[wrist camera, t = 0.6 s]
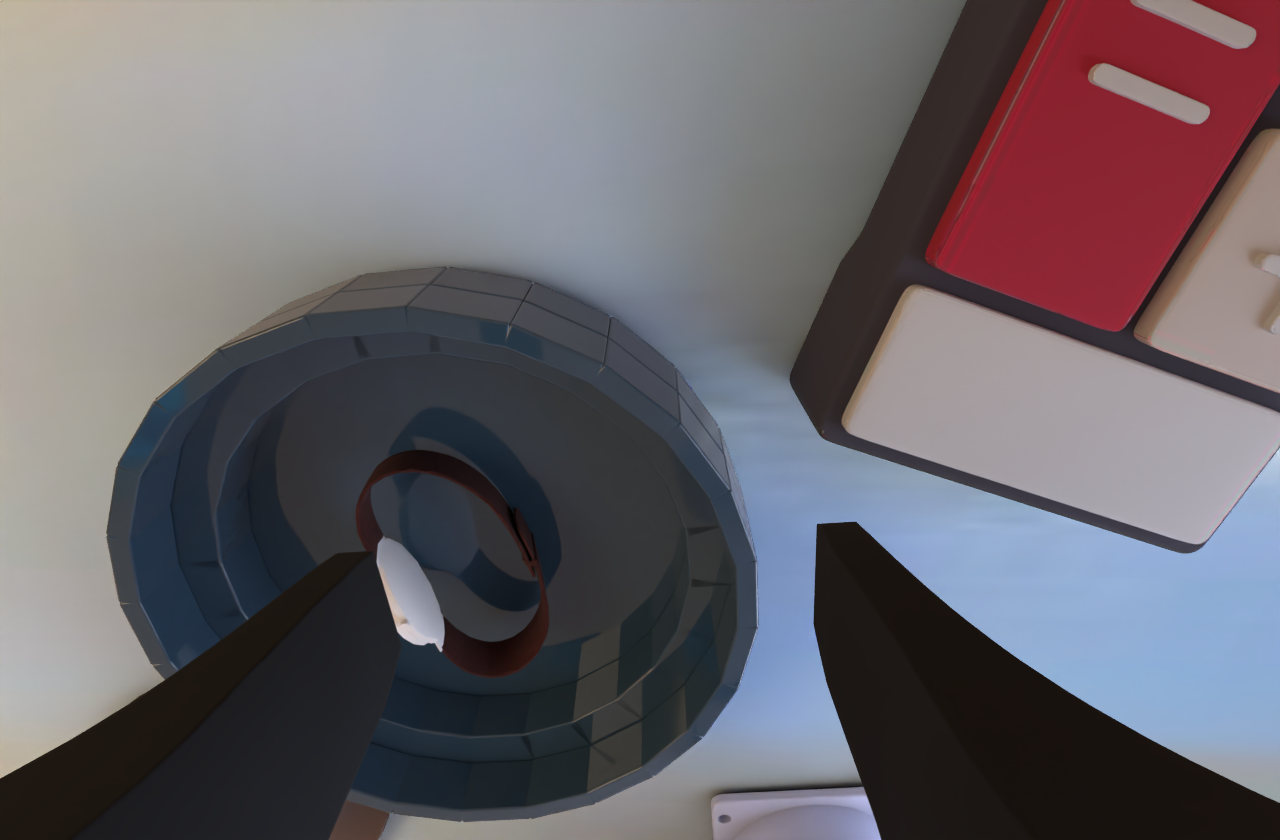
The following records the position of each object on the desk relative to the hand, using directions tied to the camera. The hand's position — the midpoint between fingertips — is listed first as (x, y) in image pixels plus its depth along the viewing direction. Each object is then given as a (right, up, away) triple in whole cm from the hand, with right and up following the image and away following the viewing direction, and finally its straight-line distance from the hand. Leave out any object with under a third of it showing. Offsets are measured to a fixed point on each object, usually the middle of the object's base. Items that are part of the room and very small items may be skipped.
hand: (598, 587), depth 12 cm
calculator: (+12, +9, +7) cm, 16 cm away
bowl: (-5, -1, +11) cm, 12 cm away
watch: (-5, -1, +11) cm, 12 cm away
